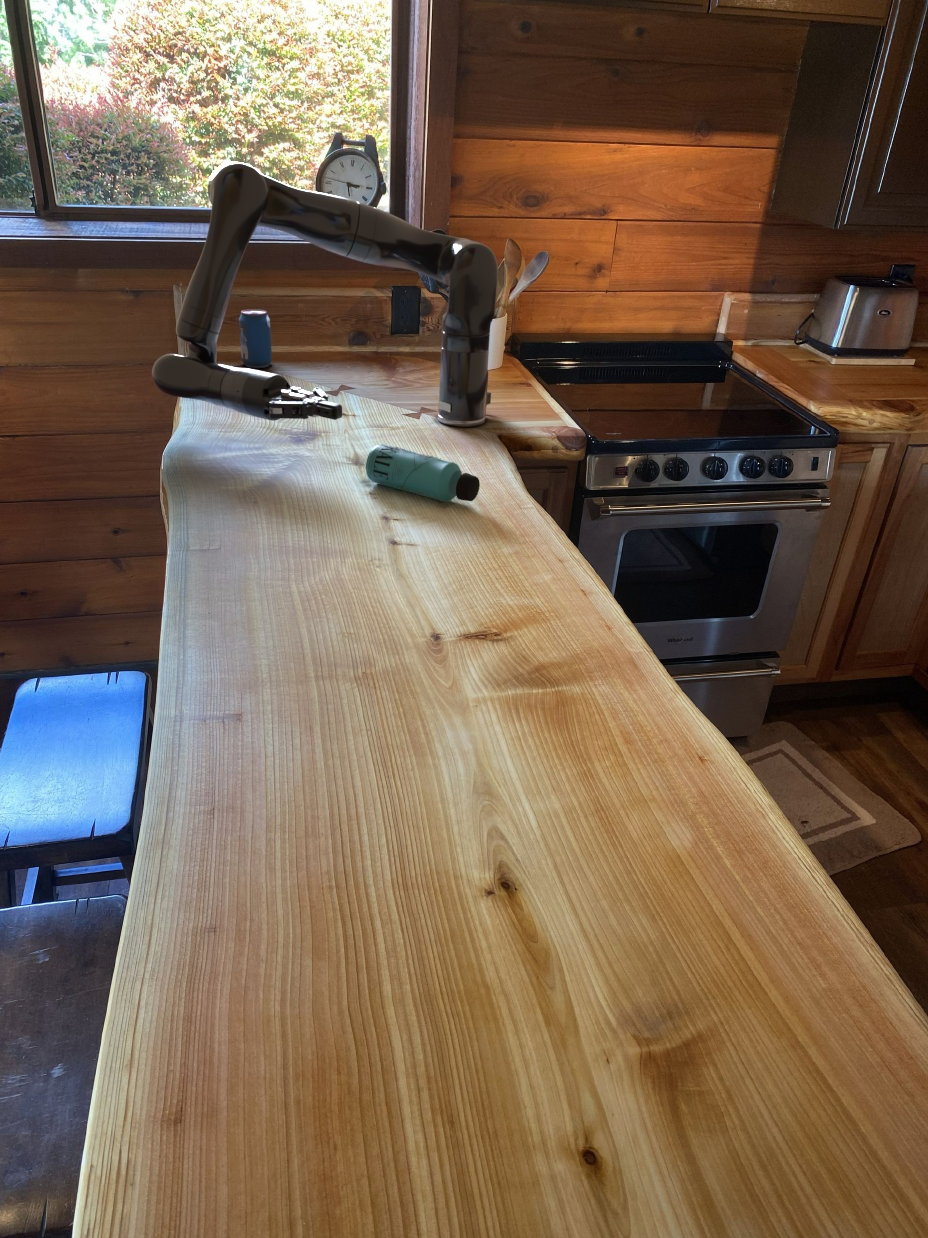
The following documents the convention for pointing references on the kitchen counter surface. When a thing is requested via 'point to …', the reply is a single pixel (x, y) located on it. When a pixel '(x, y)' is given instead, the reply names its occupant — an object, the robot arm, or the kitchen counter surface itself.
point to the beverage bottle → (420, 474)
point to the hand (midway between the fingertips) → (339, 412)
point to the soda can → (255, 338)
